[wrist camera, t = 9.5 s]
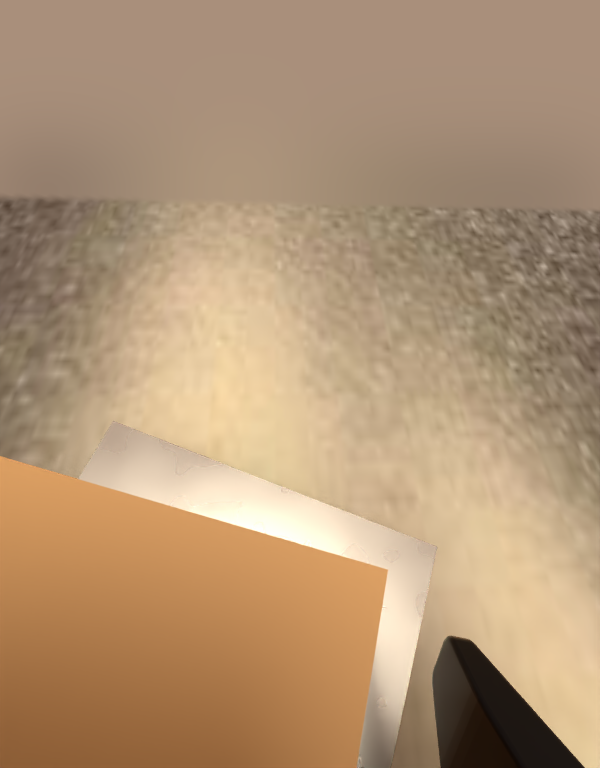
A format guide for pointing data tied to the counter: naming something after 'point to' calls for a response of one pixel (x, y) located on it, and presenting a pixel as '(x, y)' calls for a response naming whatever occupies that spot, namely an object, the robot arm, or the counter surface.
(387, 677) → the white peg board
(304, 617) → the orange post
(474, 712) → the robot arm
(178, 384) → the counter surface
